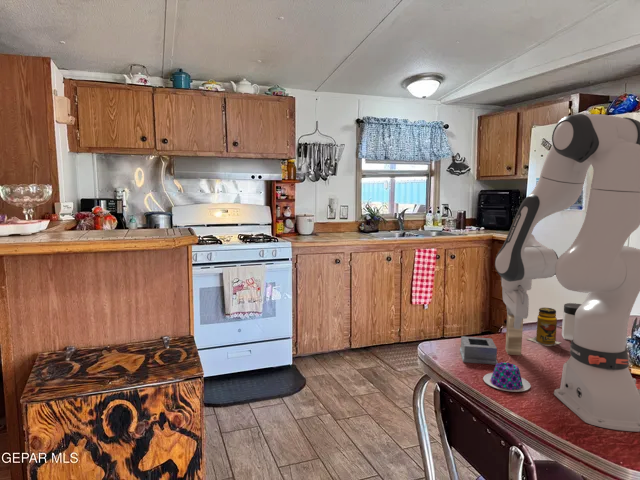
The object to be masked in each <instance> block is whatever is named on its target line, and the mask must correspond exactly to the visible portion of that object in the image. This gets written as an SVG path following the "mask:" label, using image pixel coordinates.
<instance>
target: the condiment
mask: <svg viewBox="0 0 640 480" xmlns="http://www.w3.org/2000/svg"><path fill="white" fill-rule="evenodd" d="M538 311H539V312H538V315H537V320H536V336H534V337H531V338H530V337H529V338H526V340H528V341H532V342H534V343H537V344H539V345H542V346H545V347H552V346H556V345H559V344H561V342H560V341H556V339H557V325H558V318H557V311H556V309H555V308H552V307H539V309H538Z"/></svg>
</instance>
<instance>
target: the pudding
mask: <svg viewBox="0 0 640 480" xmlns="http://www.w3.org/2000/svg"><path fill="white" fill-rule="evenodd" d="M482 380H483V381H484V383H485V384H486V385H488V386H489V387H492V388H495V389H497V390H500V391H506V392H519V393H520V392H525V391H528V390H529V389H530V388H531V386H532V385H531V383H530V382H529V381H528V380H527V379H525V378H523V377H522V376H521V370H520V368H519V367H518V366H517V365H515V364H513V363H509V362H499V363H498V364H496V365H495V366H494V368H493V371H492V372H489V373H486V374H485V375H484V376H483V378H482Z"/></svg>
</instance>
